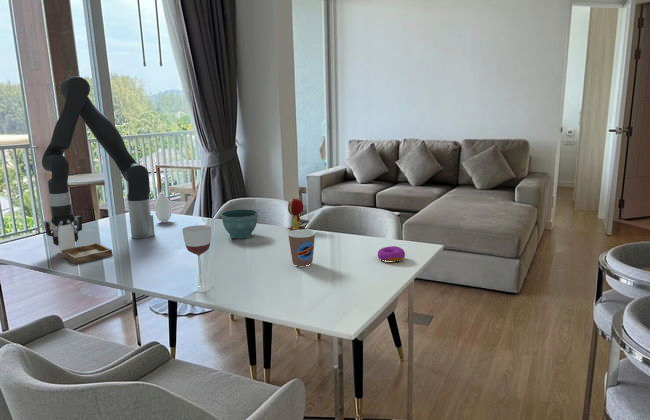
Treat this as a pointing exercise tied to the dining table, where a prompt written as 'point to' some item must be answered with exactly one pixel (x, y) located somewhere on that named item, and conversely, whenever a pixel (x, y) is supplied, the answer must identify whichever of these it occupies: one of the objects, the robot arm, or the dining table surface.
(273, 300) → the dining table surface
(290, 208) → the figurine
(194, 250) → the wineglass
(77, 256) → the tray
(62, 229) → the can
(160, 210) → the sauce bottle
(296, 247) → the coffee cup
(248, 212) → the teal green bowl
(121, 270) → the dining table surface
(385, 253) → the donut
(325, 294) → the dining table surface
